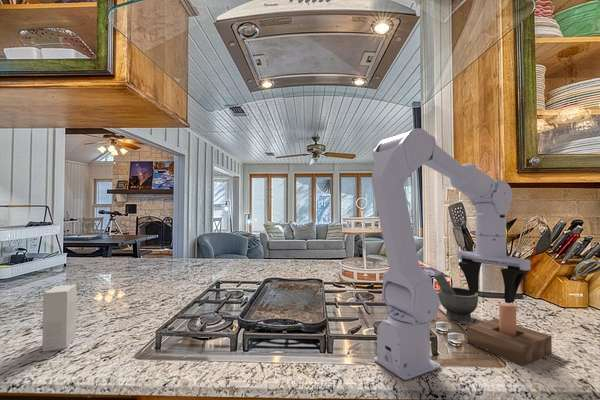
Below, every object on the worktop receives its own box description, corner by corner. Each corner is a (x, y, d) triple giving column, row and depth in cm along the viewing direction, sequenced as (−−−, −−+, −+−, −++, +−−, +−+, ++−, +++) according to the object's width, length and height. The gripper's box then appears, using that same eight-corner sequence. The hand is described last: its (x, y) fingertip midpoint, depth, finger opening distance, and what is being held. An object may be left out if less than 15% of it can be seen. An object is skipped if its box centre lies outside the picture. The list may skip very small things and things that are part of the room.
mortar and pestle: (472, 312, 86) (472, 270, 86) (484, 325, 77) (484, 277, 77) (430, 309, 88) (430, 268, 89) (437, 320, 79) (436, 275, 80)
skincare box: (53, 340, 66) (54, 285, 67) (76, 337, 68) (77, 284, 68) (40, 352, 61) (42, 293, 61) (66, 349, 62) (67, 291, 63)
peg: (511, 352, 62) (510, 308, 62) (496, 346, 65) (496, 304, 65) (519, 349, 63) (519, 306, 64) (504, 343, 66) (504, 302, 66)
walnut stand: (523, 366, 57) (522, 347, 57) (467, 342, 66) (467, 326, 67) (551, 353, 62) (551, 336, 62) (496, 333, 72) (495, 318, 72)
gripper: (538, 237, 62) (538, 304, 61) (470, 232, 74) (470, 287, 74) (519, 238, 58) (519, 309, 58) (451, 232, 71) (451, 290, 71)
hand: (490, 297), depth 66 cm, fingers open, 7 cm apart
